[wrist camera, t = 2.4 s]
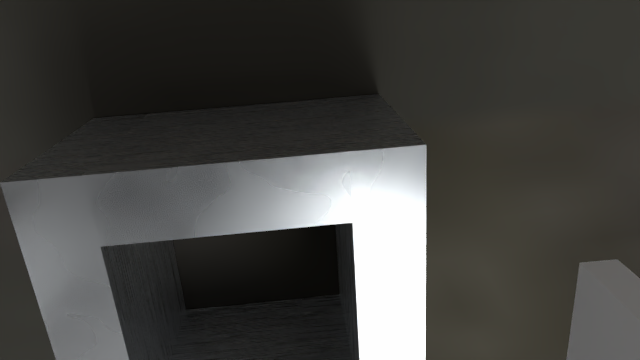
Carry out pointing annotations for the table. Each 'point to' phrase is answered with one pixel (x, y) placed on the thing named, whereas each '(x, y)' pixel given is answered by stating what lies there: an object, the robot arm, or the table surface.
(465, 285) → the table surface
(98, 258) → the link
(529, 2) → the table surface
